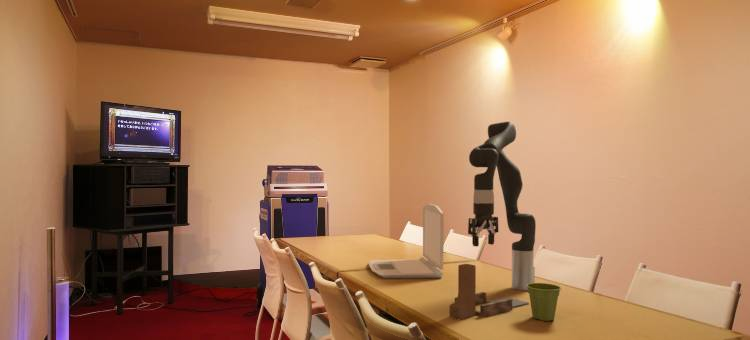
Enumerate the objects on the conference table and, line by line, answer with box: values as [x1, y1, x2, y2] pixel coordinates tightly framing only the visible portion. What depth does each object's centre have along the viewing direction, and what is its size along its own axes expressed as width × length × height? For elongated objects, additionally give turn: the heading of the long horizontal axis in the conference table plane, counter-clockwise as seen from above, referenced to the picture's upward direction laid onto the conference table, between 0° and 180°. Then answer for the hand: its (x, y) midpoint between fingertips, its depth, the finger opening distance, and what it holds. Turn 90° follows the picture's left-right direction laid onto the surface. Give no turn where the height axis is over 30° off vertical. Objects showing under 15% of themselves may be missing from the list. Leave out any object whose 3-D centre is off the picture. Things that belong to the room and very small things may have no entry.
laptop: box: [368, 203, 445, 279], centre depth 256 cm, size 42×33×35 cm
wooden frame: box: [454, 291, 513, 318], centre depth 185 cm, size 16×14×4 cm
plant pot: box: [526, 282, 562, 322], centre depth 174 cm, size 12×12×11 cm
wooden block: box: [449, 263, 477, 320], centre depth 175 cm, size 9×4×18 cm, turn 128°
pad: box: [489, 296, 530, 309], centre depth 194 cm, size 10×11×1 cm
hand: (483, 245), depth 185 cm, fingers open, 8 cm apart
